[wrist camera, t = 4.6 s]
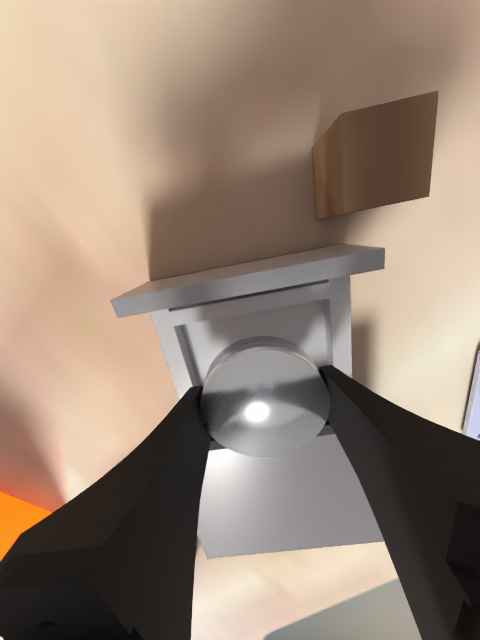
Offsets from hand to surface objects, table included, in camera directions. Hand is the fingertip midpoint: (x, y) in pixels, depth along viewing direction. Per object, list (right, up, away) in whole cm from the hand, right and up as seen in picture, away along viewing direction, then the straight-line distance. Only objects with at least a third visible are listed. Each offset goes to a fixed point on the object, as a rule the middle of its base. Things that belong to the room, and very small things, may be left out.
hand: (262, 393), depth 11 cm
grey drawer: (0, +1, +4) cm, 4 cm away
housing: (+2, -6, +7) cm, 9 cm away
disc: (0, 0, 0) cm, 0 cm away
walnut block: (+4, +11, +1) cm, 12 cm away
